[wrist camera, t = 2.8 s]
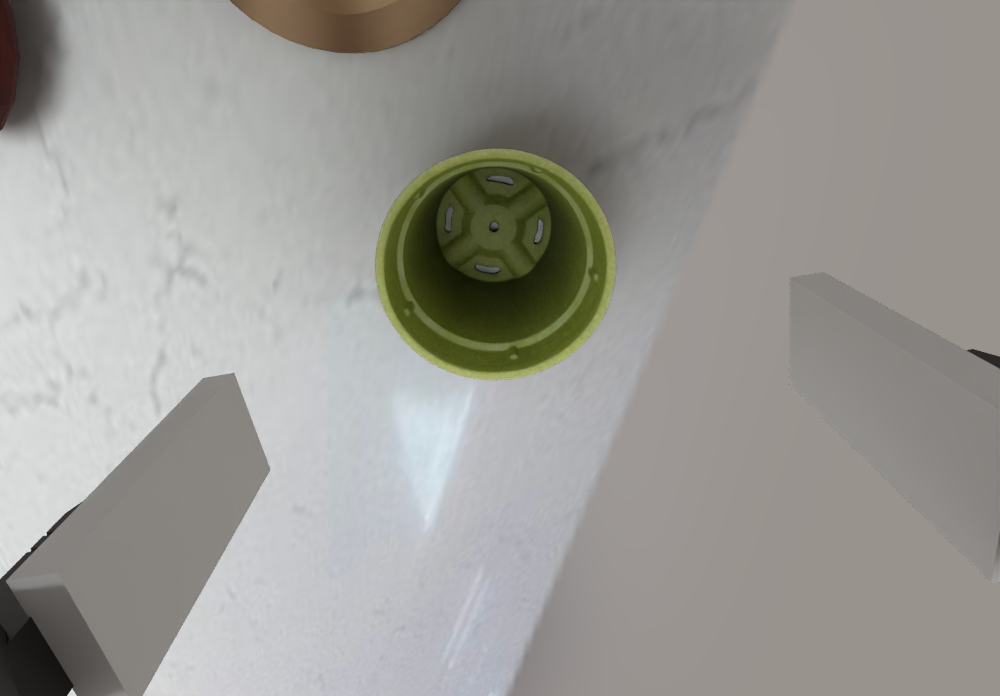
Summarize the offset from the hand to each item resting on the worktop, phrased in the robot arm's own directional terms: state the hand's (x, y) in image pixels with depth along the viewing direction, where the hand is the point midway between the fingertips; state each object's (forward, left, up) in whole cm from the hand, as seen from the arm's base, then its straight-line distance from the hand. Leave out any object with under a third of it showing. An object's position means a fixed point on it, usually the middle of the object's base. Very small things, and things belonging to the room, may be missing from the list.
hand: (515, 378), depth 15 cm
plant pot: (0, 0, -19) cm, 19 cm away
